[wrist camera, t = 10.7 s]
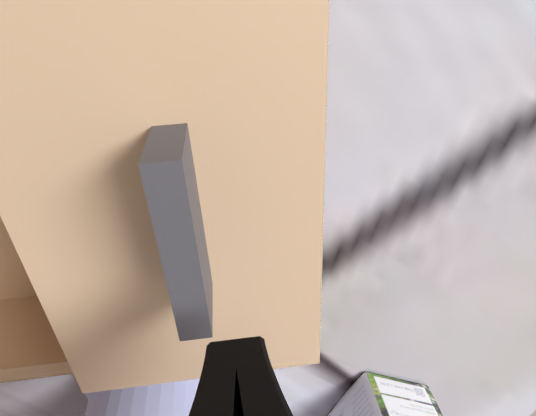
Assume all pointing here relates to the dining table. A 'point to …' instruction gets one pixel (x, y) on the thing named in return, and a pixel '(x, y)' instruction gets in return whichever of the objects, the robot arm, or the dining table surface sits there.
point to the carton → (24, 323)
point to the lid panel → (166, 177)
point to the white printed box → (386, 398)
